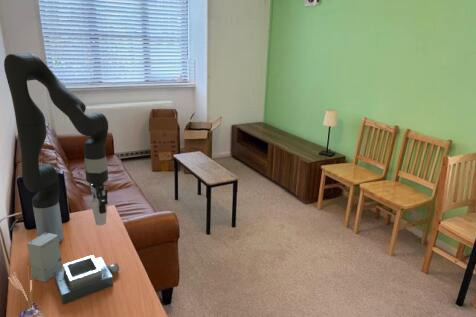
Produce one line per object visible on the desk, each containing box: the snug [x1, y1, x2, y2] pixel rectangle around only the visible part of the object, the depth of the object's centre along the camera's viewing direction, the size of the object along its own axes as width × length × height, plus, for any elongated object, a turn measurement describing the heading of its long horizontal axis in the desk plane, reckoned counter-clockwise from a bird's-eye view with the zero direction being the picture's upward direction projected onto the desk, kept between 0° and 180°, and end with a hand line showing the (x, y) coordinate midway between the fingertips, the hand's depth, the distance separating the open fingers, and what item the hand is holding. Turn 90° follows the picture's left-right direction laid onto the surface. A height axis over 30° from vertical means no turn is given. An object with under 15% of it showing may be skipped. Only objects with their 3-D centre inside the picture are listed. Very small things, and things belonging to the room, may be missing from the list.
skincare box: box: [26, 232, 64, 284], centre depth 121 cm, size 8×6×15 cm
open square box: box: [53, 254, 120, 305], centre depth 119 cm, size 13×20×7 cm, turn 128°
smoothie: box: [89, 197, 108, 226], centre depth 128 cm, size 6×6×14 cm
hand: (99, 208), depth 128 cm, fingers closed on smoothie, 6 cm apart
